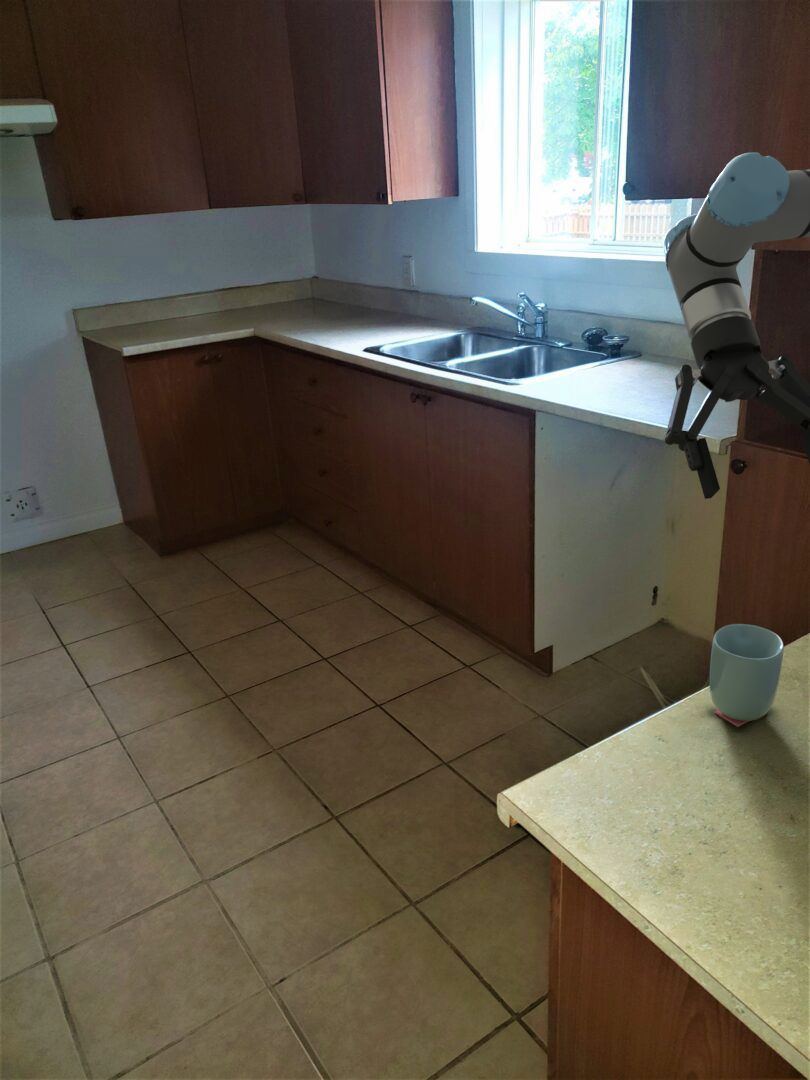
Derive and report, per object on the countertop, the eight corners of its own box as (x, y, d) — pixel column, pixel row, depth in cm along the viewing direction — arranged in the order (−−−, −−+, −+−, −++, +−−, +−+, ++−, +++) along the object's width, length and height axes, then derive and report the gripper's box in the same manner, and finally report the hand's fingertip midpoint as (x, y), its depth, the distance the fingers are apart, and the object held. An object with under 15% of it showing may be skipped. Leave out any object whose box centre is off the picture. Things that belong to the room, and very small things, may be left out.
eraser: (741, 702, 103) (742, 696, 102) (765, 716, 100) (765, 710, 100) (714, 717, 101) (715, 711, 100) (737, 732, 98) (738, 725, 97)
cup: (780, 701, 101) (791, 633, 96) (765, 737, 95) (776, 666, 91) (716, 684, 105) (723, 617, 101) (698, 717, 99) (704, 648, 95)
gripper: (802, 338, 105) (854, 487, 98) (614, 358, 104) (654, 511, 97) (832, 302, 98) (890, 461, 91) (631, 323, 97) (675, 486, 90)
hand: (769, 487), depth 94 cm, fingers open, 13 cm apart
